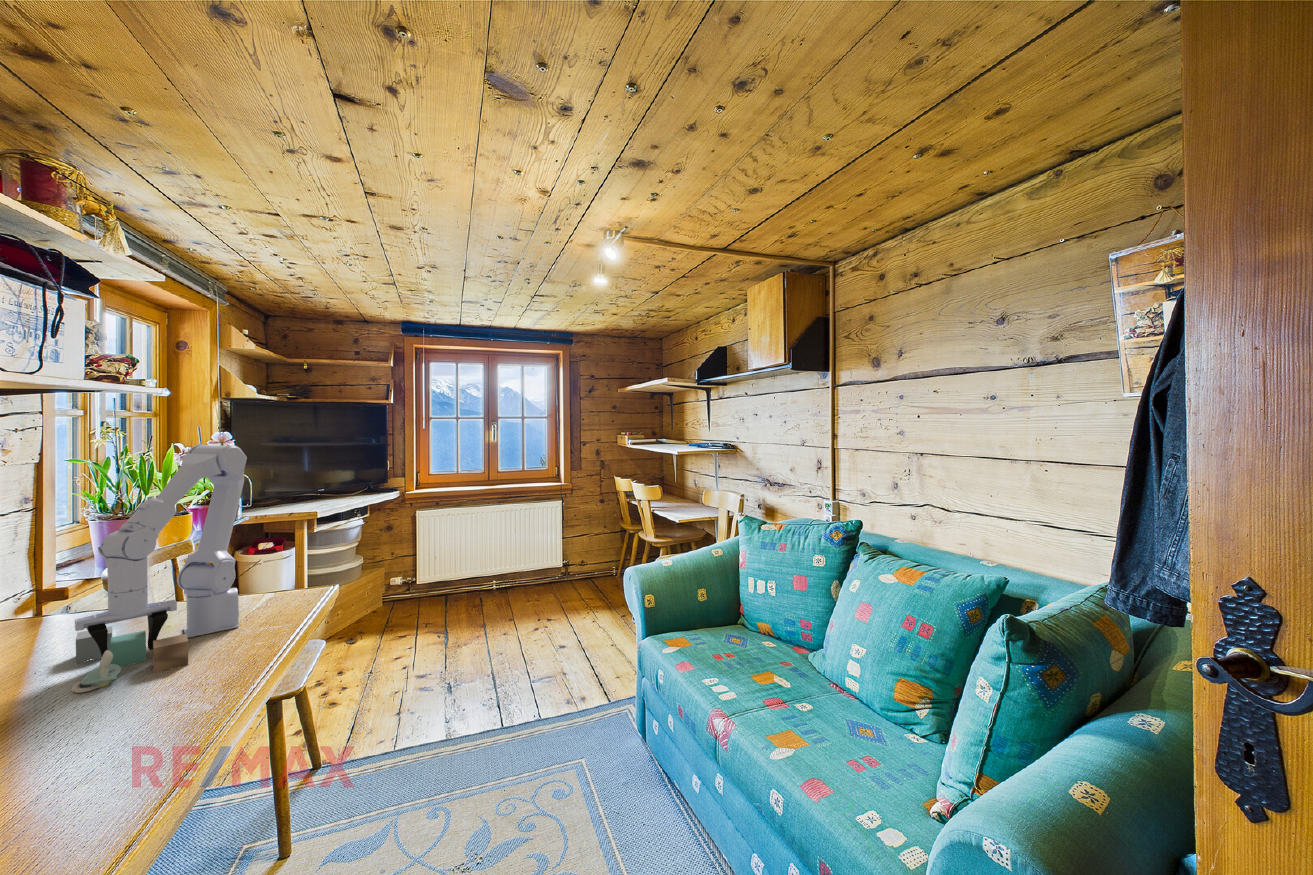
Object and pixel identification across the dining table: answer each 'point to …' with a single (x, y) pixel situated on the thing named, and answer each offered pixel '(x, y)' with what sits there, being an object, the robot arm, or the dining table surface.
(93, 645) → the slate block
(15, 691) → the dining table surface
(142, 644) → the teal block
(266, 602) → the dining table surface
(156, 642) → the walnut block
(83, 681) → the pacifier
